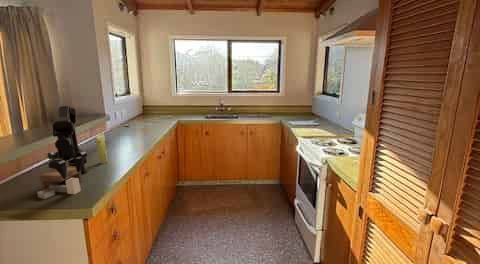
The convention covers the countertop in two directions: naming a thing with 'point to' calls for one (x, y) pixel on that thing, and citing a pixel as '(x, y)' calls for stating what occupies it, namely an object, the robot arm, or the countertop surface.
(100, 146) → the tube
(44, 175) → the brown wooden slab
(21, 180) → the countertop surface
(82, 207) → the countertop surface
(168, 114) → the countertop surface
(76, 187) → the cube on a stick
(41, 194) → the token
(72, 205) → the countertop surface
